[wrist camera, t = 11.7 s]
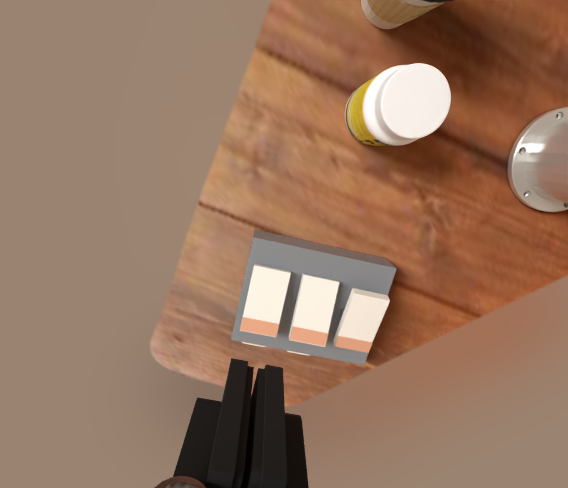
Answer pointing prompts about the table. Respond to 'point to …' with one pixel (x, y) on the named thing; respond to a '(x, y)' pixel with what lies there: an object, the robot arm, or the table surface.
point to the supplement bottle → (398, 105)
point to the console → (316, 262)
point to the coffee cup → (396, 11)
